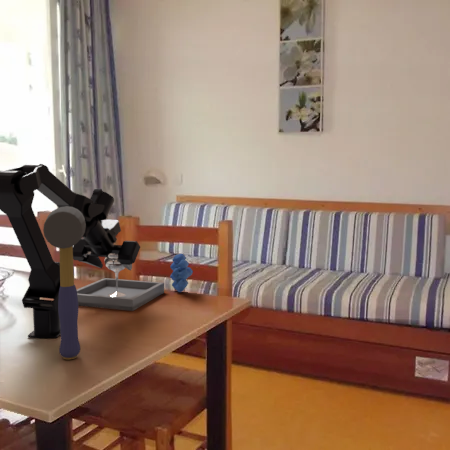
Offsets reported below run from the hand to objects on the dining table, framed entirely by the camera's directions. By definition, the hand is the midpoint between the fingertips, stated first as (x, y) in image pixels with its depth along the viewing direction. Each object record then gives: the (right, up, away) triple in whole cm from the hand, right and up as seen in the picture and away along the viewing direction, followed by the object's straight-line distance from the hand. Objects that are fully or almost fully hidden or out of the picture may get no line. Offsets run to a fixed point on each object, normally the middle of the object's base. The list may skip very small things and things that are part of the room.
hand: (116, 267), depth 144 cm
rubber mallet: (0, -14, -43) cm, 46 cm away
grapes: (+18, -8, +9) cm, 22 cm away
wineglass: (0, -8, +1) cm, 8 cm away
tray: (0, -9, +1) cm, 9 cm away
